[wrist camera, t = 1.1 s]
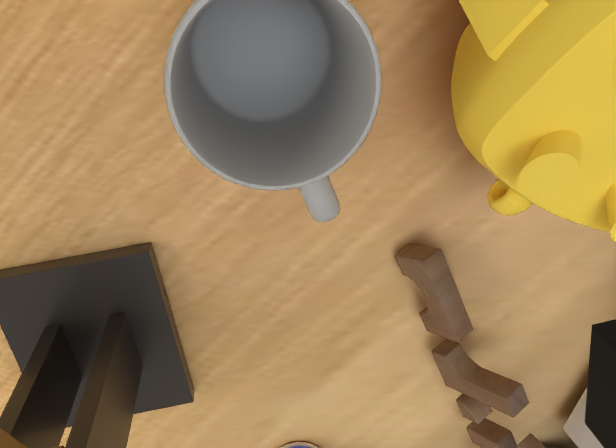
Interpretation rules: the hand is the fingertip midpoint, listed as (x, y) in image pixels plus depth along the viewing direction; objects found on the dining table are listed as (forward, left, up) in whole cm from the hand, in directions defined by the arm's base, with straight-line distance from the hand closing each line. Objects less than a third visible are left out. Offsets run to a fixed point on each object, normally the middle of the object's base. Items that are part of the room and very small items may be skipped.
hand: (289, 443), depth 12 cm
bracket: (+12, -12, -24) cm, 30 cm away
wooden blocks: (+24, +11, -22) cm, 35 cm away
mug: (-3, +2, -24) cm, 25 cm away
